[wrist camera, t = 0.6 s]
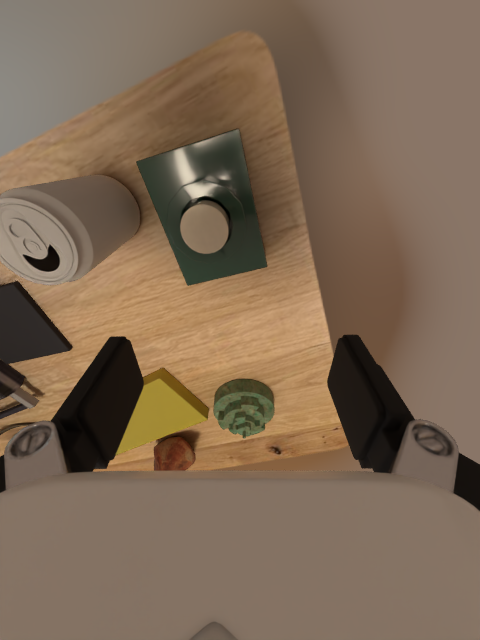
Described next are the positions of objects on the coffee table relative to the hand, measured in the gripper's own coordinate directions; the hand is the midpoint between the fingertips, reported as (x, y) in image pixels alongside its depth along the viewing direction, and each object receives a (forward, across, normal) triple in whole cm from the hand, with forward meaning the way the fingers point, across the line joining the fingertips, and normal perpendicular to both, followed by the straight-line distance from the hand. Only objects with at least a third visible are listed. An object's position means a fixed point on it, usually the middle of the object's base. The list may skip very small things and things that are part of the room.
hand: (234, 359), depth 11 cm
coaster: (+19, +31, +12) cm, 39 cm away
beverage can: (+20, +13, -3) cm, 24 cm away
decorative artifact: (+20, 0, +28) cm, 34 cm away
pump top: (+15, +3, -2) cm, 15 cm away
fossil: (+20, +14, +42) cm, 49 cm away
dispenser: (+19, +3, -2) cm, 20 cm away
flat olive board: (+20, +19, +31) cm, 42 cm away
